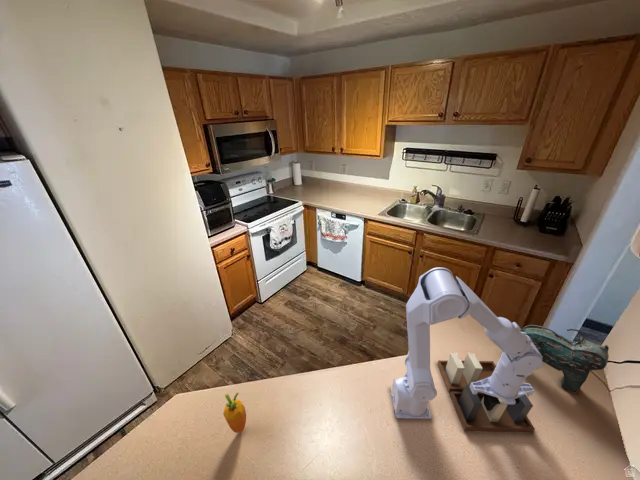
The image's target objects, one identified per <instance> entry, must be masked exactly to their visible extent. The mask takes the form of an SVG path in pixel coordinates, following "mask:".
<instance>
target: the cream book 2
mask: <svg viewBox="0 0 640 480" xmlns="http://www.w3.org/2000/svg"><path fill="white" fill-rule="evenodd" d="M464 358H465V359H464V360H463V361H464V364H463V366H464V368H465V369H464V371H463V375H464V377H465V379H466V381H467V383H468V385H470V384H471V382H477V380H478V378H479V376H480V373H481V371H482V369H483V368H482V366H481V364H480V363H479V361H480V360H478V359H479V358H478V357H477V355H476V354H475V352H467V354H466V355H465V357H464Z"/></svg>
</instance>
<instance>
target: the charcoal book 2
mask: <svg viewBox="0 0 640 480" xmlns="http://www.w3.org/2000/svg"><path fill="white" fill-rule="evenodd" d="M518 398H519V400H520V402H519V404H514V405H510V406H508V407H506V409H507V411H508V413H509V414H510V416H511V418H512V420H513V421H514V423H522V422H523V420H524V419H525V417H526V416H527V417H528V414H529V413H530V411H531V410H532V409H533V407H534V405H533V404H532V402H531V401H530V399H529V397H528V395H527V394H525V395H523V396H521V397H518Z"/></svg>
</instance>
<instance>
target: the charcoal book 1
mask: <svg viewBox="0 0 640 480" xmlns="http://www.w3.org/2000/svg"><path fill="white" fill-rule="evenodd" d="M469 386H470V385H465V387H464V389H463V392H462V394H461V396H460V399H459V401H458V403H459V405H460V408H461V410H462V413H463V415H464V417H465V420H466V421H473V422H474V420H475V418H476V416H477V414H478V412H479V410H480V408H481V406H482V403H481V401H480V399H479V397H478V395H477V394H473V393H472V391H471V389H470V387H469Z"/></svg>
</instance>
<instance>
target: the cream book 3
mask: <svg viewBox="0 0 640 480" xmlns="http://www.w3.org/2000/svg"><path fill="white" fill-rule="evenodd" d="M498 399H499V401H500V403H501V404H497V405H495V406H494V407H493V409H492V410H490V411H487V409H486V407H485V405H484V397H483V399H482V401H481V403H482V406H483V408H484V410H485V412H486V414H487V416H488V418H489V420H490V422H498V421H499V419H500V417H501V416H502V414H503V412H504V411H505V409H506V407H507V403H506V402H505V400H503V399H500V398H498Z"/></svg>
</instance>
